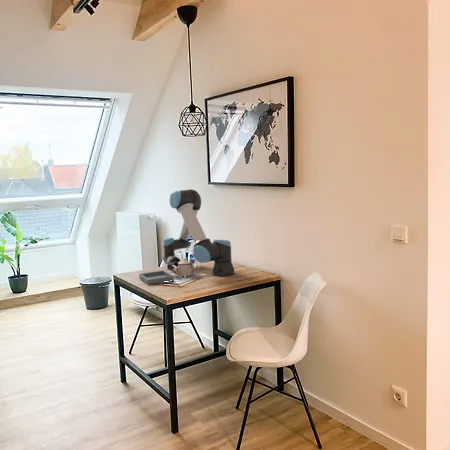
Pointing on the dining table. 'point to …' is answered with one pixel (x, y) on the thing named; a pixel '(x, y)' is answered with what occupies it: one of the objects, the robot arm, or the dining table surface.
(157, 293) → the dining table surface
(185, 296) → the dining table surface
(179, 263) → the teacup with lid
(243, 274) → the dining table surface
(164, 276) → the grey tray
